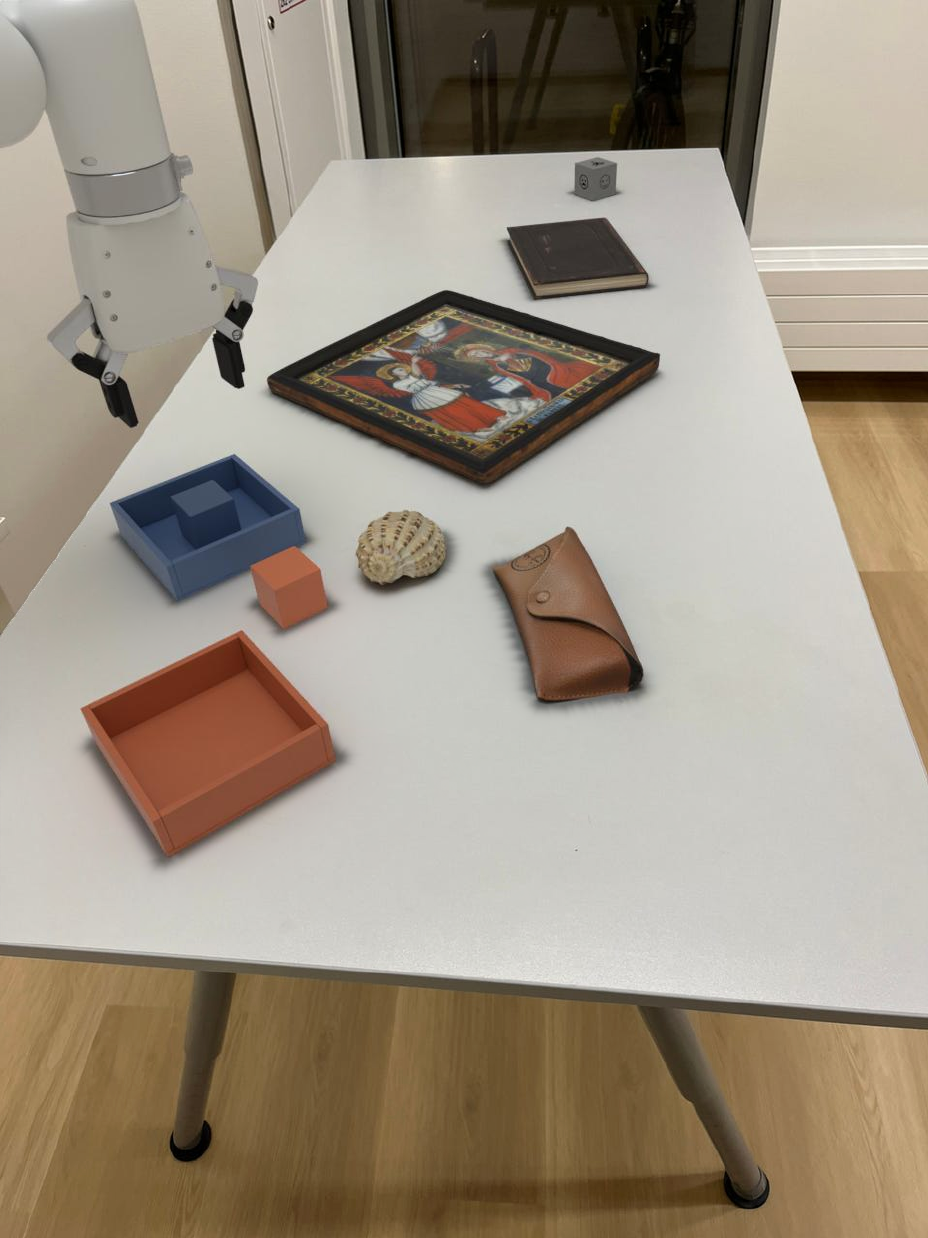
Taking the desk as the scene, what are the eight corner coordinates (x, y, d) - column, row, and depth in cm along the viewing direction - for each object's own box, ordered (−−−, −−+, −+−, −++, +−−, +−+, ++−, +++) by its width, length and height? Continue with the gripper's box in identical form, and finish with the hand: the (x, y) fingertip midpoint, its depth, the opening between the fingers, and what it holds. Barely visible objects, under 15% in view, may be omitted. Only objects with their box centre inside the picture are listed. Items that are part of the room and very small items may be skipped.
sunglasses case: (485, 564, 85) (521, 505, 82) (550, 584, 88) (587, 528, 85) (538, 705, 72) (583, 641, 68) (612, 723, 75) (659, 662, 71)
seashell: (368, 566, 92) (353, 591, 82) (363, 504, 90) (347, 522, 80) (448, 563, 91) (443, 588, 82) (445, 501, 90) (439, 518, 80)
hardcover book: (534, 299, 131) (534, 283, 129) (507, 242, 148) (506, 226, 147) (648, 287, 132) (649, 270, 130) (607, 231, 149) (608, 216, 148)
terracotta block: (283, 630, 81) (274, 590, 78) (259, 605, 84) (249, 565, 81) (328, 608, 83) (320, 568, 80) (303, 584, 85) (294, 545, 83)
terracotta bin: (168, 858, 64) (152, 822, 61) (96, 744, 72) (79, 708, 69) (336, 761, 69) (328, 724, 67) (252, 666, 78) (241, 629, 75)
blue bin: (178, 602, 84) (166, 566, 82) (121, 536, 93) (109, 502, 90) (306, 543, 90) (299, 508, 88) (242, 486, 98) (234, 453, 96)
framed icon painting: (243, 407, 111) (238, 384, 110) (425, 300, 132) (424, 280, 130) (514, 501, 94) (513, 476, 92) (675, 361, 114) (677, 338, 113)
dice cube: (592, 200, 161) (593, 169, 157) (574, 193, 164) (574, 162, 161) (615, 194, 163) (617, 162, 159) (596, 187, 166) (597, 156, 163)
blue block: (201, 555, 89) (190, 516, 86) (181, 534, 91) (170, 496, 89) (243, 537, 91) (233, 498, 88) (223, 517, 93) (212, 479, 91)
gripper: (209, 152, 75) (251, 355, 86) (-12, 204, 67) (66, 420, 79) (255, 171, 70) (293, 383, 82) (24, 229, 63) (100, 455, 74)
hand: (182, 401), depth 80 cm, fingers open, 9 cm apart
